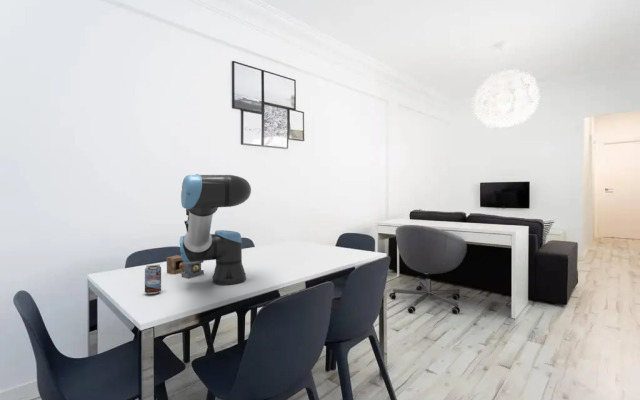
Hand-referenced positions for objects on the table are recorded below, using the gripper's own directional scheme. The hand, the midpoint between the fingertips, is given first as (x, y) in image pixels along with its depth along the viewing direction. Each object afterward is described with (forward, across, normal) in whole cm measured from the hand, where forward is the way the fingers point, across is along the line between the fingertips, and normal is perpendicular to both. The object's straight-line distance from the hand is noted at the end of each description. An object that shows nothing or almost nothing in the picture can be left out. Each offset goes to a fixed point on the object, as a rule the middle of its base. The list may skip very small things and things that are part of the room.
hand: (195, 255), depth 162 cm
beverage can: (+11, -7, +26) cm, 29 cm away
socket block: (+11, +16, 0) cm, 19 cm away
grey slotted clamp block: (+11, +2, 0) cm, 11 cm away
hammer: (+8, +5, 0) cm, 10 cm away
